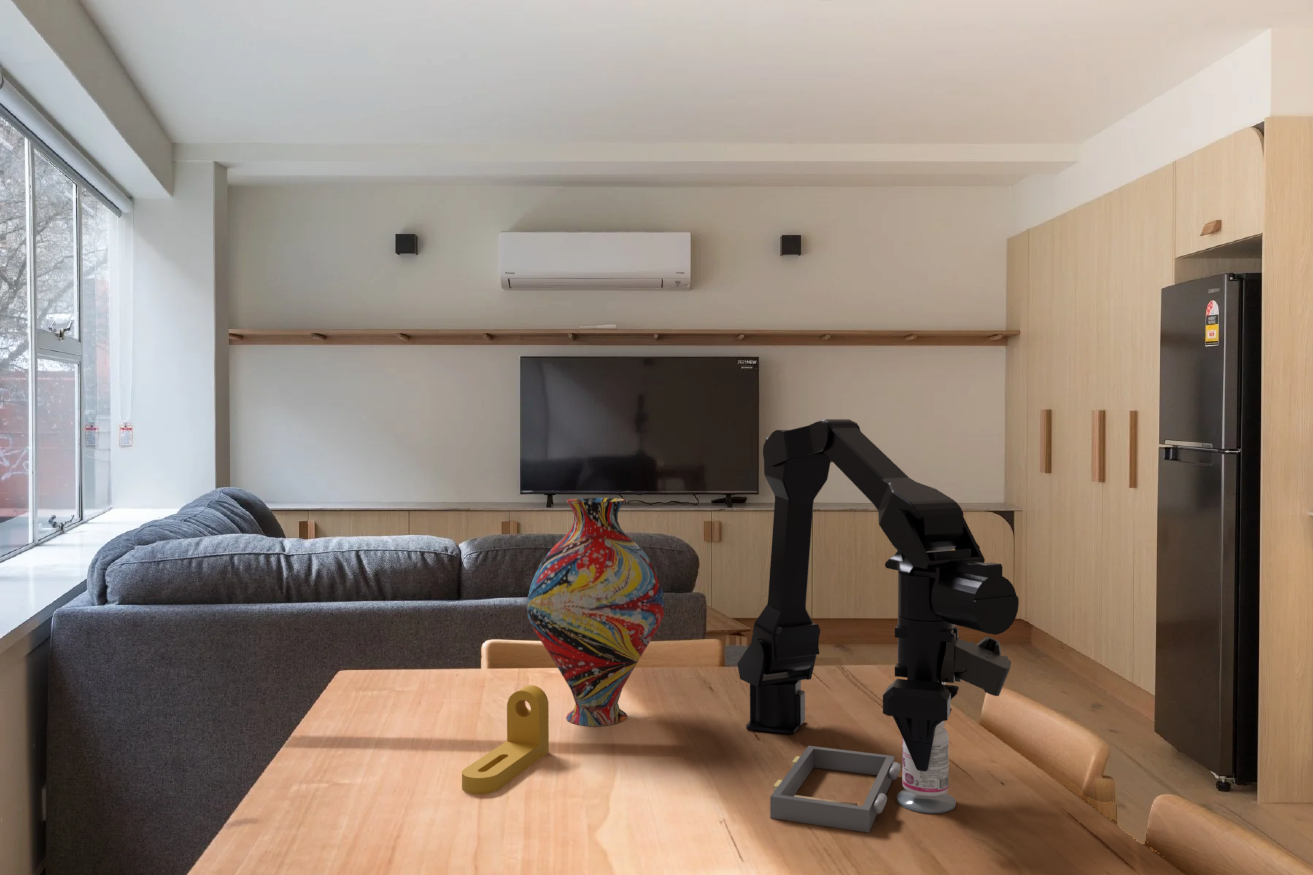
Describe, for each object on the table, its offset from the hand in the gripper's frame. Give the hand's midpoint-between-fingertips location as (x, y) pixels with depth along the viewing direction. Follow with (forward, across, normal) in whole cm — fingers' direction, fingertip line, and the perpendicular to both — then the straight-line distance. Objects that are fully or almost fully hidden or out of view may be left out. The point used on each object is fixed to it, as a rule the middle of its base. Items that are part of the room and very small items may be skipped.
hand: (925, 762), depth 104 cm
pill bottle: (+3, 0, 0) cm, 3 cm away
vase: (+5, +15, +46) cm, 48 cm away
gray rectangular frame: (+4, -2, +9) cm, 10 cm away
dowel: (+4, -6, +9) cm, 12 cm away
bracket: (+5, -8, +47) cm, 48 cm away
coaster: (+4, 0, 0) cm, 4 cm away
